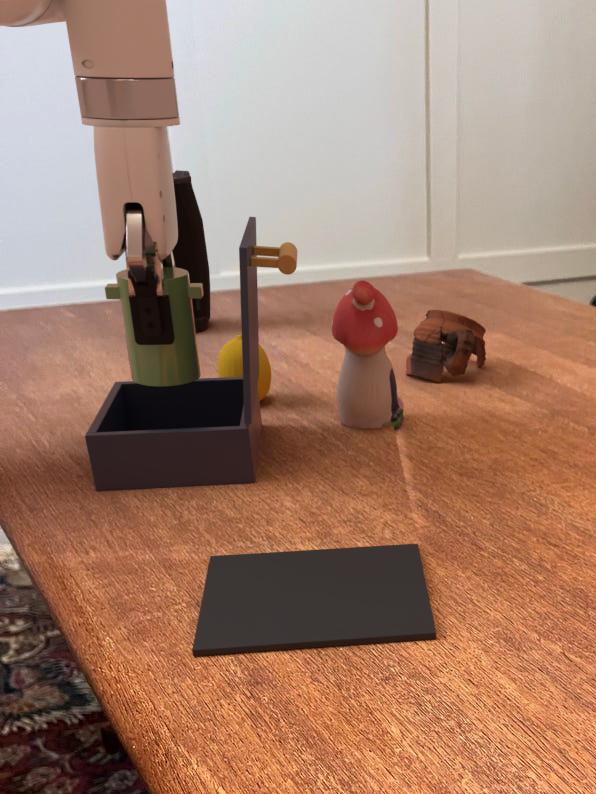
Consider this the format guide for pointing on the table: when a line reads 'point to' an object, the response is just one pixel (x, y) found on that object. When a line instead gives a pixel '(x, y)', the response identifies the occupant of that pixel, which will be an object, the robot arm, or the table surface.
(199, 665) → the table surface
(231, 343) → the lemon
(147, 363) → the green pot
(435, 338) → the brown carved piece
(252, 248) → the box lid
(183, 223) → the portable speaker
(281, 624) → the grey mat
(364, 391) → the decorative ornament
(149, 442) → the box
